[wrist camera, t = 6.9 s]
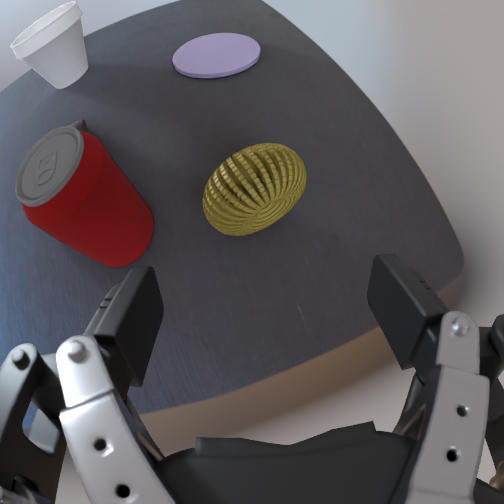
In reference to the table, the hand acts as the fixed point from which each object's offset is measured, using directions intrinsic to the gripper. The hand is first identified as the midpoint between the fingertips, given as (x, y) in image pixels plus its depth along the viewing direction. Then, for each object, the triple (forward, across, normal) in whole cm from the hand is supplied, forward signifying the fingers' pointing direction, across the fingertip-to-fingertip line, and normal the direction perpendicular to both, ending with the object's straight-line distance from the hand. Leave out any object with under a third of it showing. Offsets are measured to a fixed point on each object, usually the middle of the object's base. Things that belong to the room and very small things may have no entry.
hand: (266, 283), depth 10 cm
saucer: (+32, +4, -15) cm, 35 cm away
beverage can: (+14, +12, +4) cm, 18 cm away
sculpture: (+14, 0, +3) cm, 15 cm away
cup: (+36, +30, -18) cm, 50 cm away
